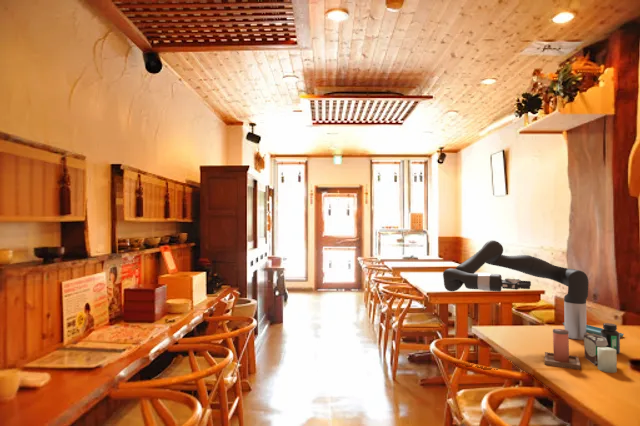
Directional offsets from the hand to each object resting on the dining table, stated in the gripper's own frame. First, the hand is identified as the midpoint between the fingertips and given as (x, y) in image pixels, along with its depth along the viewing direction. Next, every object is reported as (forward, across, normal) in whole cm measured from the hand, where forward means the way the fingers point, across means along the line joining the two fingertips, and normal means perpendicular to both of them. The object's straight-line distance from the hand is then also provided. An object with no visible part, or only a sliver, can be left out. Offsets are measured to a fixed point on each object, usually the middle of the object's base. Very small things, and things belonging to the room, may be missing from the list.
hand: (530, 285), depth 174 cm
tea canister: (+11, -3, +29) cm, 31 cm away
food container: (+24, +5, +30) cm, 39 cm away
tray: (+11, -3, +30) cm, 32 cm away
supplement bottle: (+30, +23, +30) cm, 48 cm away
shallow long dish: (+26, +59, +31) cm, 71 cm away
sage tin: (+26, -4, +30) cm, 40 cm away
